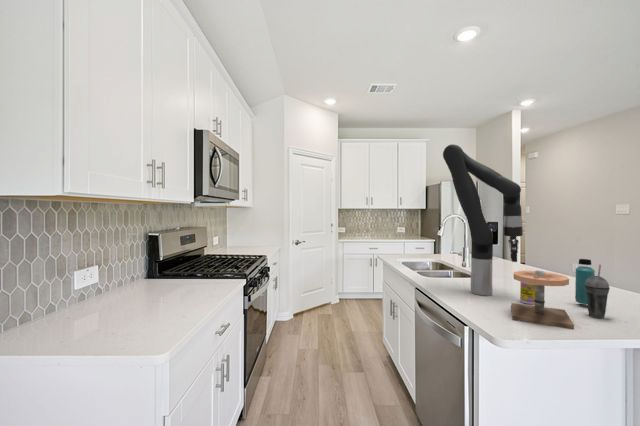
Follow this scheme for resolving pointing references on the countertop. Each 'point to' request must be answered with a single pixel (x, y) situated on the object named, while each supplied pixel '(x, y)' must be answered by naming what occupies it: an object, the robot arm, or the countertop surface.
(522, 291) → the supplement bottle
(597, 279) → the beverage cup
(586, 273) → the beverage bottle
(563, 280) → the collar
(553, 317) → the pipe stand
